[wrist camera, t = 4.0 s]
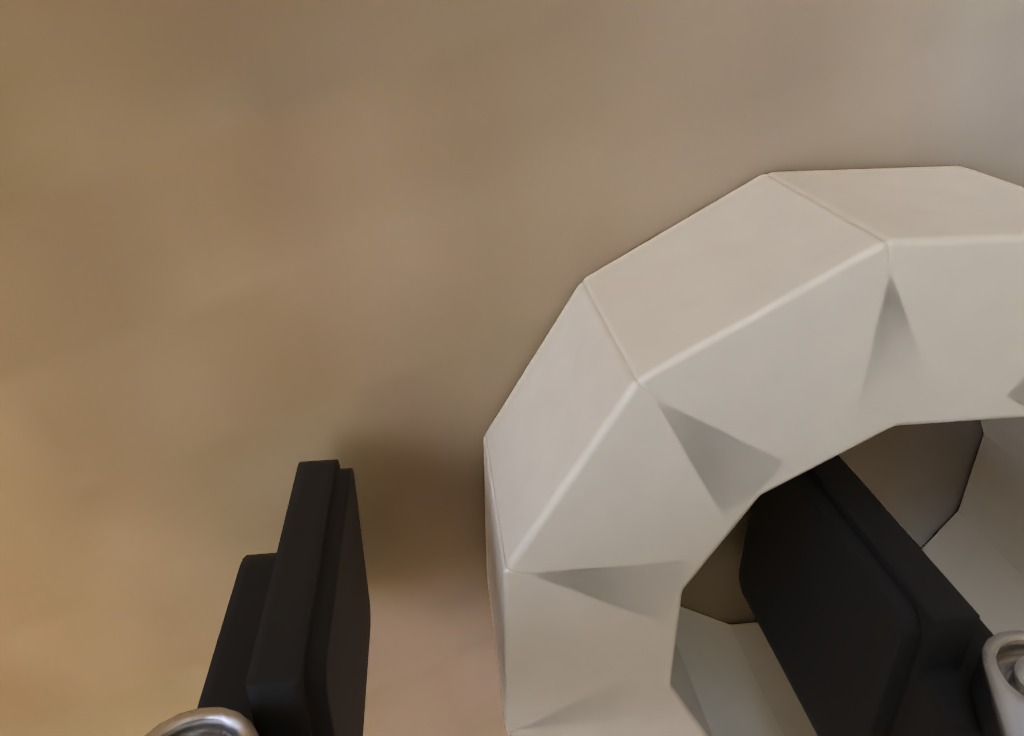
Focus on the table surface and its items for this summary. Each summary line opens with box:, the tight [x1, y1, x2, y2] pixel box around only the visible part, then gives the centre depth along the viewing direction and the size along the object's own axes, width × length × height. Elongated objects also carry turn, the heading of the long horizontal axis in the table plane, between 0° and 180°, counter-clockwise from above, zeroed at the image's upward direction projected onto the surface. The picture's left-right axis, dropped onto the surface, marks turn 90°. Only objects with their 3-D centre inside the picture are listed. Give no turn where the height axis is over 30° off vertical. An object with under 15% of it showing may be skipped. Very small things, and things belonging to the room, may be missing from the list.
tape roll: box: [483, 166, 1024, 736], centre depth 11 cm, size 10×10×3 cm
